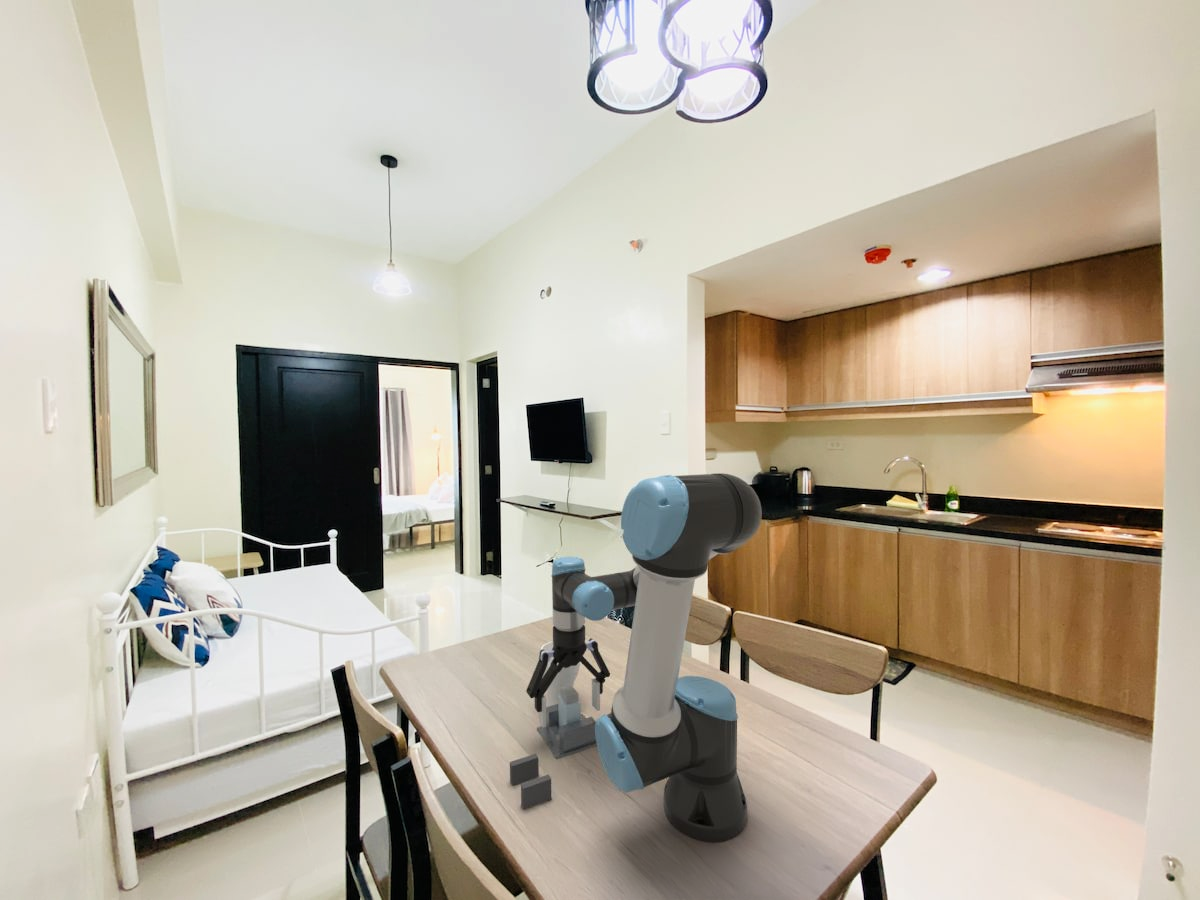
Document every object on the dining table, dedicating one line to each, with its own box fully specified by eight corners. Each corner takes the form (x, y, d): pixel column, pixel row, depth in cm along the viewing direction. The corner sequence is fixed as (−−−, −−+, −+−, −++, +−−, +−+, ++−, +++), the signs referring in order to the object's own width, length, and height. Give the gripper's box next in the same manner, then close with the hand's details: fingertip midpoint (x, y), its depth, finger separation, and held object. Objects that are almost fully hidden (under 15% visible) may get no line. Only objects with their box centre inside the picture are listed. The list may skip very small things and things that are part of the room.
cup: (574, 719, 118) (574, 658, 118) (533, 714, 120) (533, 655, 120) (584, 696, 129) (584, 640, 128) (546, 692, 131) (546, 638, 130)
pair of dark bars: (551, 799, 92) (551, 778, 92) (523, 809, 89) (523, 788, 89) (536, 772, 99) (536, 753, 99) (510, 781, 97) (509, 762, 97)
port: (605, 742, 109) (604, 720, 109) (556, 759, 103) (555, 736, 103) (582, 715, 120) (582, 695, 119) (536, 729, 114) (536, 708, 114)
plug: (580, 736, 110) (580, 693, 110) (566, 741, 109) (566, 697, 109) (572, 725, 115) (571, 683, 115) (558, 729, 113) (558, 687, 113)
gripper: (608, 610, 120) (609, 694, 120) (511, 630, 108) (513, 722, 109) (623, 620, 113) (624, 709, 114) (522, 642, 102) (523, 740, 102)
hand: (569, 715), depth 111 cm, fingers open, 13 cm apart
